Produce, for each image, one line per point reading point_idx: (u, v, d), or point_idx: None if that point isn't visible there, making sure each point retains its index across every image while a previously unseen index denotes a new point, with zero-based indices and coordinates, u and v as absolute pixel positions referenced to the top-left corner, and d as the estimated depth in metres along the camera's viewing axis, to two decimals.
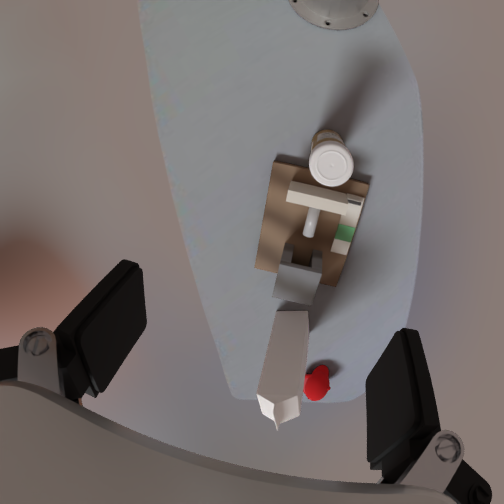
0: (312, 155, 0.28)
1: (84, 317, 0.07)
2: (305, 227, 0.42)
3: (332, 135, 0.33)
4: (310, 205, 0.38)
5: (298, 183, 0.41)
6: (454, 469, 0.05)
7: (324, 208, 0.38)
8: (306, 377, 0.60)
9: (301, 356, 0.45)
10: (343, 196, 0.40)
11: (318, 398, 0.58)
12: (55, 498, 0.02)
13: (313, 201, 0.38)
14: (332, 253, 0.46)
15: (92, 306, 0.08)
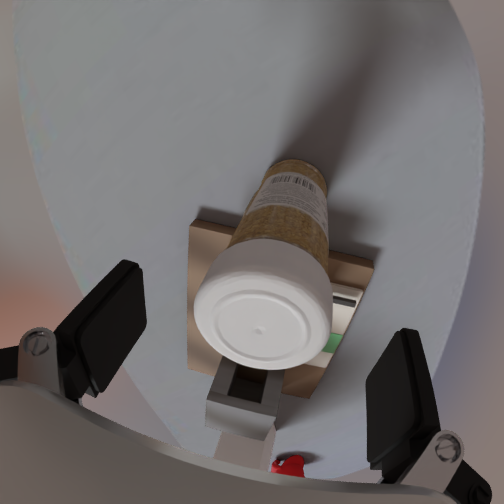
0: (197, 299, 0.09)
1: (84, 318, 0.07)
2: None
3: (293, 188, 0.14)
4: None
5: None
6: (454, 469, 0.05)
7: None
8: (275, 468, 0.42)
9: None
10: None
11: None
12: (55, 498, 0.02)
13: None
14: (303, 363, 0.28)
15: (92, 306, 0.08)
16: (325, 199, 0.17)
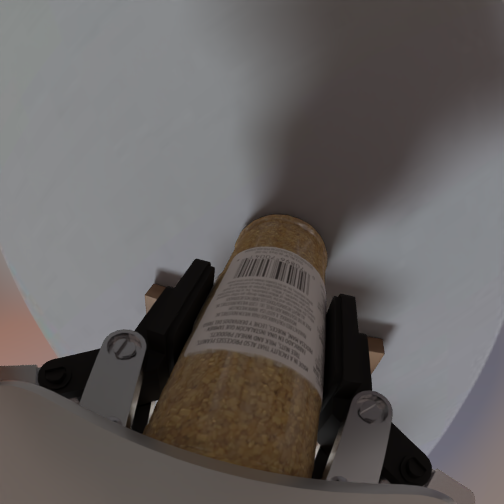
0: None
1: (174, 317, 0.08)
2: None
3: (269, 295, 0.08)
4: None
5: None
6: (388, 426, 0.06)
7: None
8: None
9: None
10: None
11: None
12: (55, 498, 0.02)
13: None
14: None
15: (179, 305, 0.08)
16: (324, 289, 0.11)
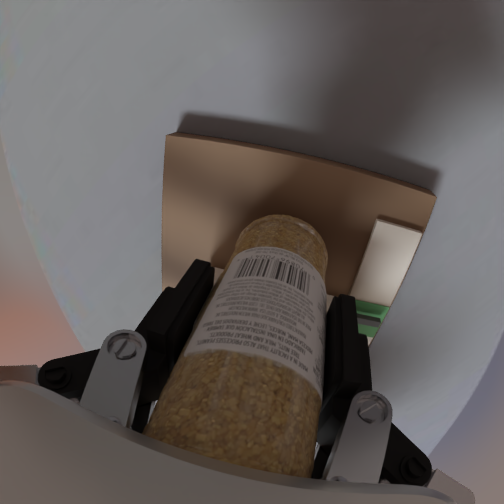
0: None
1: (174, 317, 0.08)
2: None
3: (269, 295, 0.08)
4: None
5: None
6: (387, 427, 0.06)
7: None
8: None
9: None
10: None
11: None
12: (55, 498, 0.02)
13: None
14: None
15: (180, 305, 0.08)
16: (324, 289, 0.11)
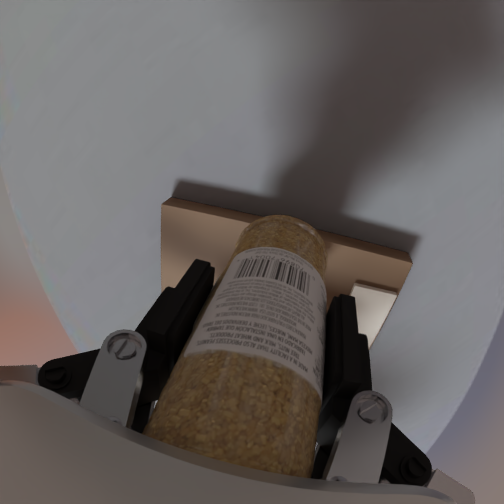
0: None
1: (174, 317, 0.08)
2: None
3: (269, 296, 0.08)
4: None
5: None
6: (387, 426, 0.06)
7: None
8: None
9: None
10: None
11: None
12: (55, 498, 0.02)
13: None
14: None
15: (180, 305, 0.08)
16: (324, 289, 0.11)
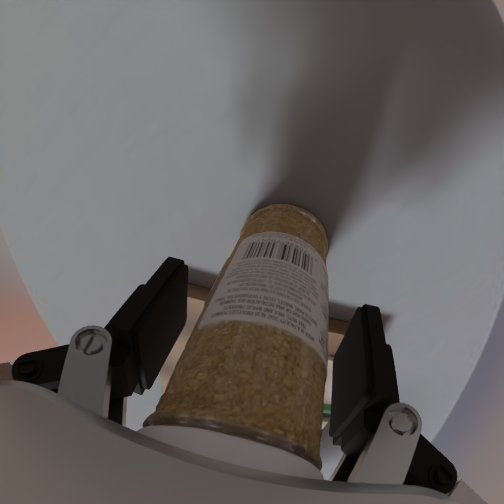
0: None
1: (140, 315, 0.08)
2: None
3: (276, 273, 0.09)
4: None
5: None
6: (415, 440, 0.06)
7: None
8: None
9: None
10: None
11: None
12: (55, 498, 0.02)
13: None
14: None
15: (147, 303, 0.08)
16: (326, 271, 0.12)
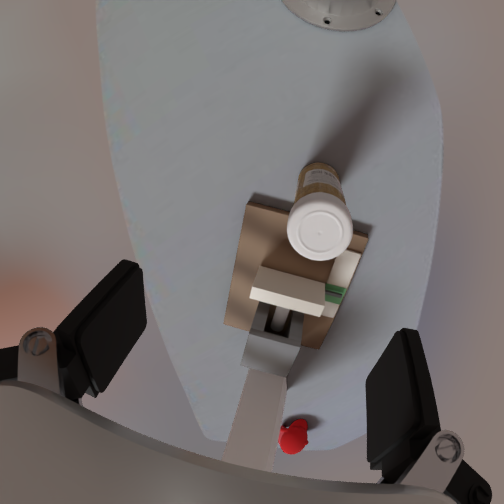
0: (292, 216, 0.20)
1: (84, 318, 0.07)
2: (273, 320, 0.36)
3: (325, 176, 0.25)
4: (278, 304, 0.32)
5: (267, 269, 0.35)
6: (454, 469, 0.05)
7: (295, 308, 0.32)
8: (282, 431, 0.51)
9: (273, 428, 0.36)
10: (320, 291, 0.34)
11: (294, 452, 0.49)
12: (55, 498, 0.02)
13: (282, 300, 0.32)
14: None
15: (92, 306, 0.08)
16: None
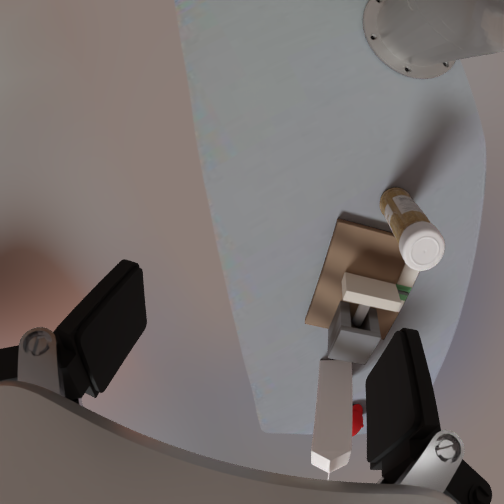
0: (408, 240, 0.25)
1: (84, 318, 0.07)
2: (355, 317, 0.41)
3: (412, 203, 0.30)
4: (365, 304, 0.38)
5: (352, 275, 0.41)
6: (454, 469, 0.05)
7: (378, 306, 0.37)
8: None
9: (351, 410, 0.41)
10: (394, 290, 0.39)
11: (352, 435, 0.55)
12: (55, 498, 0.02)
13: (369, 300, 0.37)
14: (385, 310, 0.43)
15: (92, 306, 0.08)
16: None
